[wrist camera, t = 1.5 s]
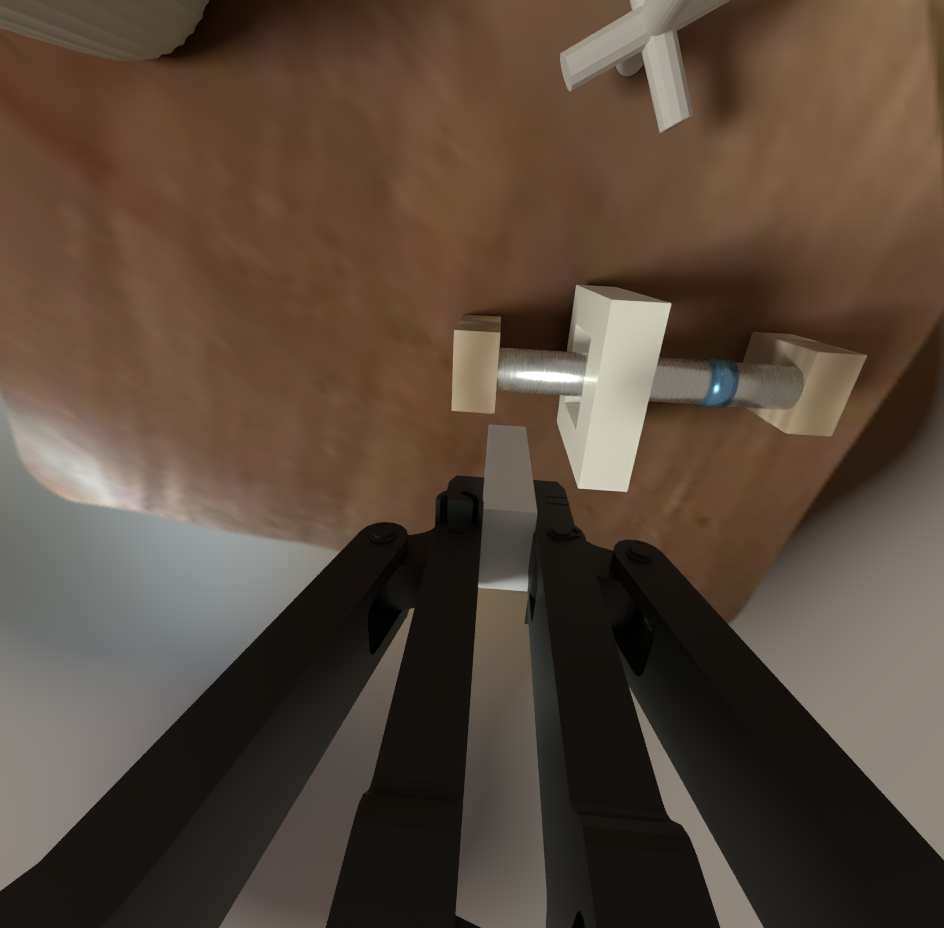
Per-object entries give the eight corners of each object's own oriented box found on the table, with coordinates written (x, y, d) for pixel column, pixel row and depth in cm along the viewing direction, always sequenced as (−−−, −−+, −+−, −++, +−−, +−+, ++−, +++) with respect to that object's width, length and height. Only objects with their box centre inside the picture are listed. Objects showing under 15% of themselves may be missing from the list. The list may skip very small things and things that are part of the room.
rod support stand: (461, 380, 38) (451, 410, 31) (464, 314, 35) (454, 329, 28) (767, 400, 37) (831, 436, 30) (791, 334, 34) (867, 355, 27)
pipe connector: (726, 104, 29) (828, 36, 20) (579, 180, 31) (611, 150, 22) (692, -95, 25) (799, -293, 16) (528, 8, 27) (540, -113, 18)
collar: (556, 421, 38) (578, 488, 27) (576, 284, 33) (611, 299, 22) (591, 423, 38) (627, 491, 27) (616, 286, 33) (671, 303, 22)
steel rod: (463, 383, 33) (459, 396, 30) (464, 339, 31) (461, 348, 28) (801, 406, 32) (831, 421, 29) (819, 361, 30) (853, 372, 28)
